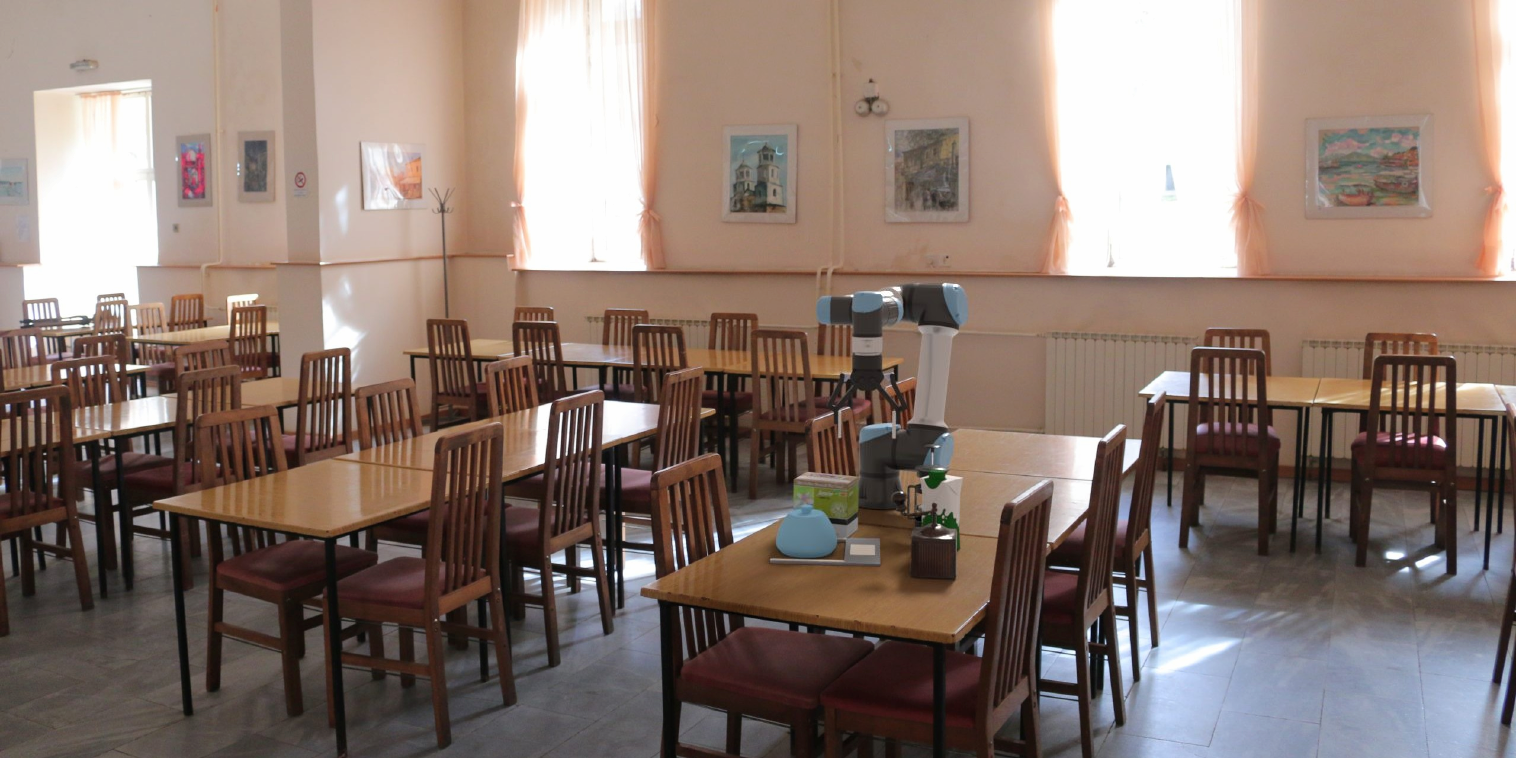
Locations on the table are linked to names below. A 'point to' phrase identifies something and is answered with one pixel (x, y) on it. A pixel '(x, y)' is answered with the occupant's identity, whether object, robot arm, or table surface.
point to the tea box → (830, 499)
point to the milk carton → (942, 499)
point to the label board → (847, 554)
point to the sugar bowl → (806, 534)
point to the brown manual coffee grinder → (930, 545)
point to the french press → (921, 472)
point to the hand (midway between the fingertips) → (866, 437)
